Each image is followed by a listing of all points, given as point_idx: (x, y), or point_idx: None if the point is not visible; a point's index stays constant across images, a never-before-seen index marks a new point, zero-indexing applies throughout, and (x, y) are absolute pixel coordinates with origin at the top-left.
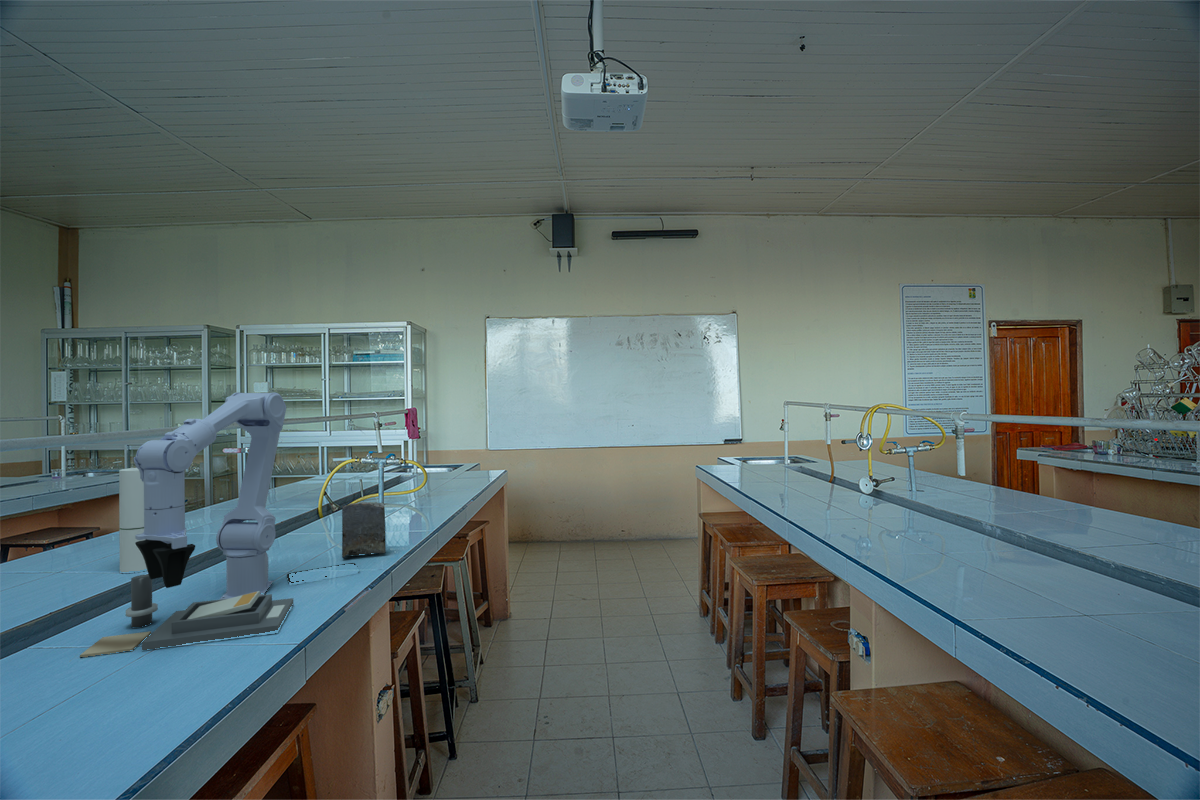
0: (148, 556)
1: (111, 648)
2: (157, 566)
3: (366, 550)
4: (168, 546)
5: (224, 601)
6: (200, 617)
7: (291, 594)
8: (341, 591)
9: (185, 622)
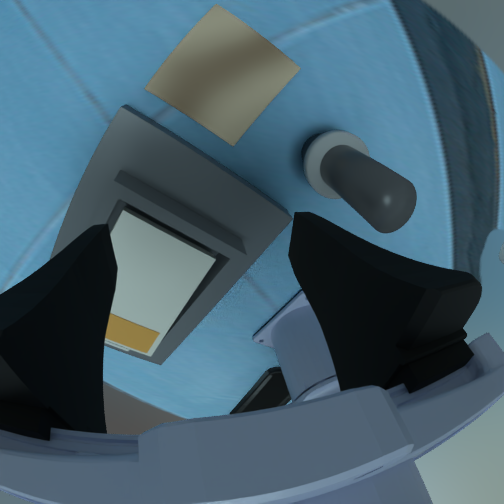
0: (356, 272)
1: (191, 55)
2: (314, 263)
3: None
4: (17, 412)
5: (168, 301)
6: None
7: (223, 362)
8: (171, 395)
9: (100, 207)
